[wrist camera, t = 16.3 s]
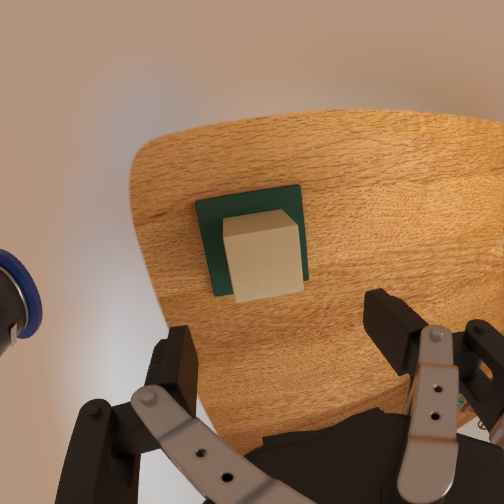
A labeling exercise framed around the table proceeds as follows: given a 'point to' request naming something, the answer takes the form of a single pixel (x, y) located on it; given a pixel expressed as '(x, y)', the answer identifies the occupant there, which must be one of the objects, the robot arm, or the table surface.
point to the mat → (238, 205)
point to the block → (263, 255)
